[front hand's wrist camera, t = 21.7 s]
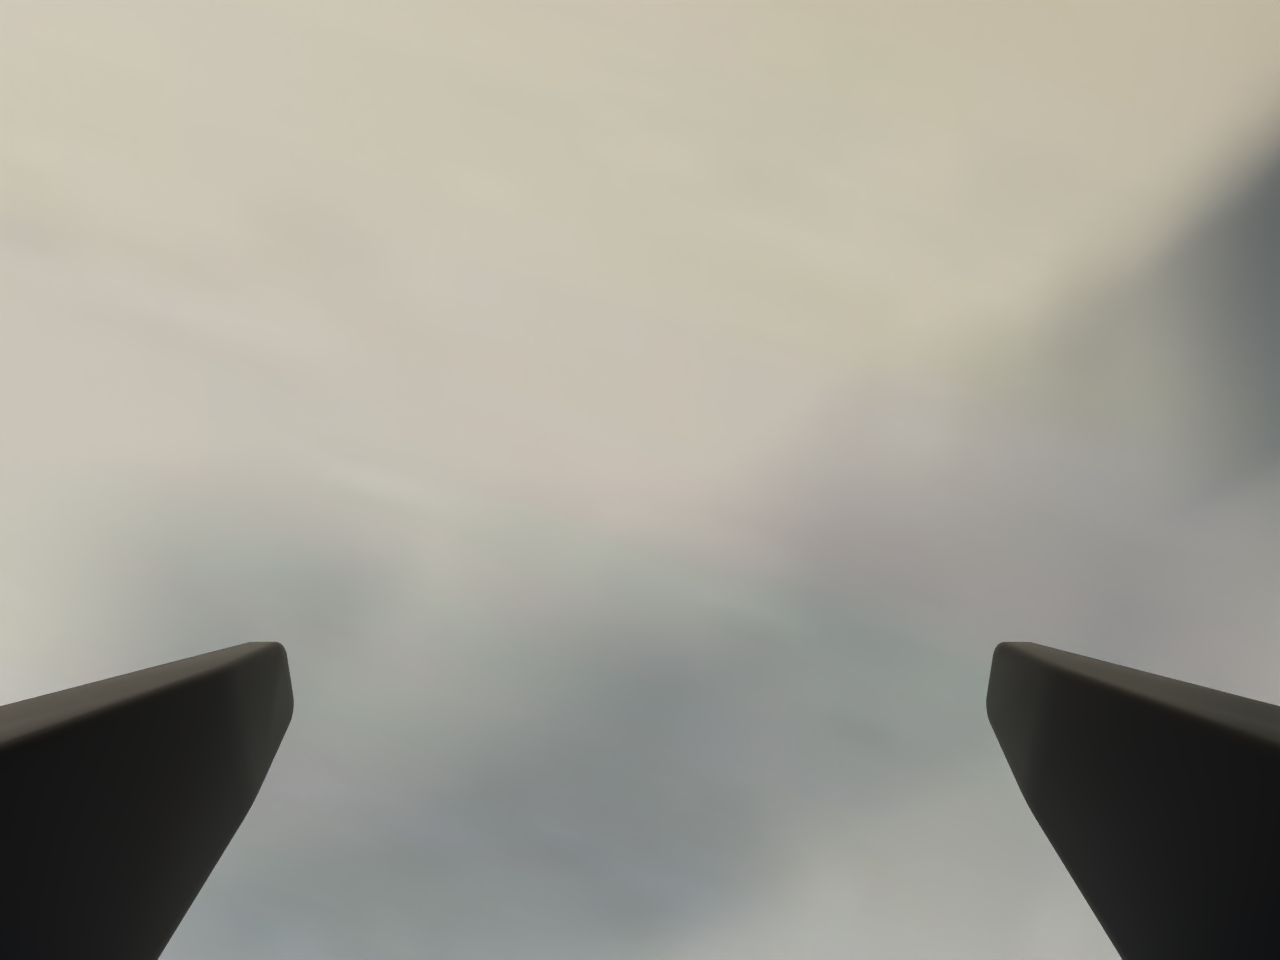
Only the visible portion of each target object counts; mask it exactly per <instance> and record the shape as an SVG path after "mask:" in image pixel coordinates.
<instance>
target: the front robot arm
mask: <svg viewBox="0 0 1280 960" xmlns="http://www.w3.org/2000/svg"><path fill="white" fill-rule="evenodd" d="M293 707H294V699H293V692H292V685H291V679H290V672H289V666H288V659H287V654H286V651H285V648H284V646H283V645H282V644H280V643H278V642H248V643H245V644H241V645H237V646H233V647H229V648H225V649H221V650H217V651H213V652H210V653H206V654H202V655H198V656H194V657H190V658H186V659H182V660H178V661H175V662H171V663H167V664H163V665H159V666H155V667H151V668H147V669H143V670H140V671H136V672H132V673H128V674H124V675H120V676H116V677H112V678H108V679H105V680H101V681H97V682H93V683H89V684H85V685H81V686H77V687H73V688H70V689H66V690H62V691H58V692H54V693H50V694H46V695H42V696H38V697H35V698H31V699H27V700H23V701H19V702H15V703H11V704H7V705H4V706H0V960H158V958H159V956H160V955H161V953H162V952H163V950H164V948H165V947H166V945H167V943H168V942H169V940H170V939H171V937H172V935H173V934H174V932H175V930H176V929H177V927H178V926H179V924H180V922H181V921H182V919H183V917H184V916H185V914H186V913H187V911H188V909H189V908H190V906H191V904H192V903H193V901H194V900H195V898H196V896H197V895H198V893H199V891H200V890H201V888H202V886H203V885H204V883H205V882H206V880H207V878H208V877H209V875H210V873H211V872H212V870H213V869H214V867H215V865H216V864H217V862H218V860H219V859H220V857H221V856H222V854H223V852H224V851H225V849H226V847H227V846H228V844H229V843H230V841H231V839H232V838H233V836H234V834H235V833H236V831H237V830H238V828H239V826H240V825H241V823H242V821H243V820H244V818H245V816H246V815H247V813H248V811H249V809H250V808H251V806H252V804H253V802H254V800H255V798H256V796H257V794H258V792H259V790H260V788H261V786H262V783H263V781H264V779H265V777H266V775H267V772H268V770H269V768H270V766H271V764H272V761H273V759H274V757H275V755H276V752H277V750H278V748H279V746H280V744H281V741H282V739H283V737H284V735H285V732H286V730H287V728H288V726H289V724H290V721H291V718H292V714H293ZM986 707H987V714H988V718H989V721H990V724H991V726H992V728H993V730H994V733H995V735H996V737H997V739H998V741H999V744H1000V746H1001V748H1002V750H1003V752H1004V755H1005V757H1006V759H1007V761H1008V764H1009V766H1010V768H1011V770H1012V772H1013V775H1014V777H1015V779H1016V781H1017V783H1018V786H1019V788H1020V790H1021V792H1022V794H1023V796H1024V798H1025V800H1026V802H1027V804H1028V806H1029V808H1030V809H1031V811H1032V813H1033V815H1034V816H1035V818H1036V820H1037V821H1038V823H1039V825H1040V826H1041V828H1042V830H1043V831H1044V833H1045V834H1046V836H1047V838H1048V839H1049V841H1050V843H1051V844H1052V846H1053V847H1054V849H1055V851H1056V852H1057V854H1058V856H1059V857H1060V859H1061V860H1062V862H1063V864H1064V865H1065V867H1066V869H1067V870H1068V872H1069V873H1070V875H1071V877H1072V878H1073V880H1074V882H1075V883H1076V885H1077V886H1078V888H1079V890H1080V891H1081V893H1082V895H1083V896H1084V898H1085V899H1086V901H1087V903H1088V904H1089V906H1090V908H1091V909H1092V911H1093V912H1094V914H1095V916H1096V917H1097V919H1098V921H1099V922H1100V924H1101V925H1102V927H1103V929H1104V930H1105V932H1106V934H1107V935H1108V937H1109V938H1110V940H1111V942H1112V943H1113V945H1114V947H1115V948H1116V950H1117V952H1118V953H1119V955H1120V956H1121V958H1122V960H1280V706H1277V705H1273V704H1269V703H1265V702H1261V701H1257V700H1253V699H1249V698H1245V697H1242V696H1238V695H1234V694H1230V693H1226V692H1222V691H1218V690H1214V689H1210V688H1207V687H1203V686H1199V685H1195V684H1191V683H1187V682H1183V681H1179V680H1175V679H1172V678H1168V677H1164V676H1160V675H1156V674H1152V673H1148V672H1144V671H1140V670H1137V669H1133V668H1129V667H1125V666H1121V665H1117V664H1113V663H1109V662H1105V661H1102V660H1098V659H1094V658H1090V657H1086V656H1082V655H1078V654H1074V653H1070V652H1067V651H1063V650H1059V649H1055V648H1051V647H1047V646H1043V645H1039V644H1035V643H1032V642H1002V643H1000V644H998V645H997V646H996V648H995V651H994V654H993V659H992V666H991V672H990V679H989V685H988V692H987V699H986Z"/></svg>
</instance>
